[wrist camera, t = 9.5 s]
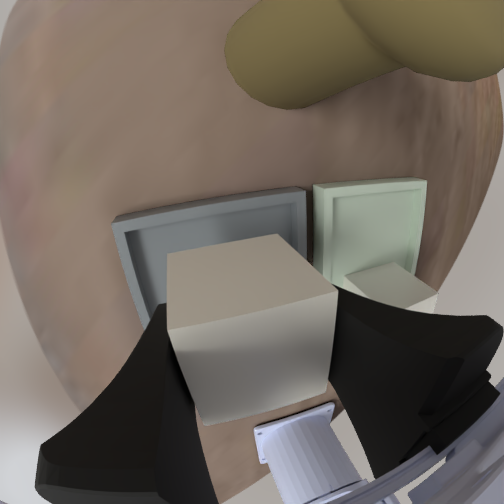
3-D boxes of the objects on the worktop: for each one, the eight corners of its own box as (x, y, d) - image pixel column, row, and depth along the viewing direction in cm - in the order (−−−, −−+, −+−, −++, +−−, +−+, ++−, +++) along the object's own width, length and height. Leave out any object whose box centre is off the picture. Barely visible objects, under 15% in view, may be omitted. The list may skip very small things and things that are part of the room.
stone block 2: (384, 311, 19) (421, 345, 15) (338, 328, 18) (373, 370, 14) (393, 261, 17) (438, 292, 13) (343, 275, 16) (388, 315, 12)
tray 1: (296, 347, 19) (303, 358, 17) (168, 376, 17) (169, 389, 16) (295, 186, 14) (305, 190, 13) (116, 216, 12) (111, 223, 11)
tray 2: (395, 312, 20) (403, 319, 19) (309, 343, 19) (317, 354, 18) (414, 177, 16) (426, 180, 15) (312, 184, 14) (323, 188, 13)
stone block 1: (281, 320, 12) (325, 392, 8) (189, 341, 12) (204, 425, 8) (277, 233, 11) (338, 290, 7) (167, 253, 10) (167, 330, 6)
